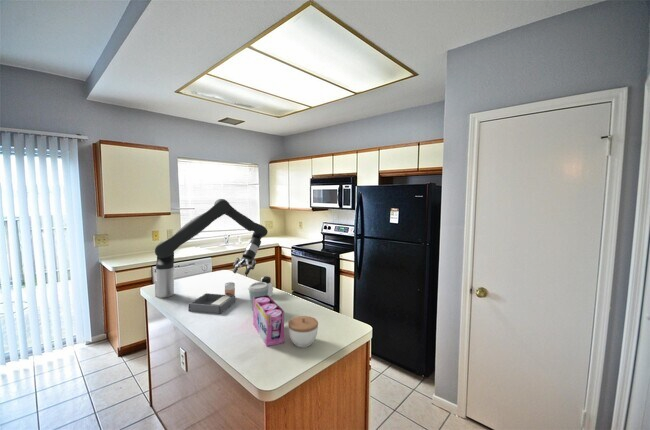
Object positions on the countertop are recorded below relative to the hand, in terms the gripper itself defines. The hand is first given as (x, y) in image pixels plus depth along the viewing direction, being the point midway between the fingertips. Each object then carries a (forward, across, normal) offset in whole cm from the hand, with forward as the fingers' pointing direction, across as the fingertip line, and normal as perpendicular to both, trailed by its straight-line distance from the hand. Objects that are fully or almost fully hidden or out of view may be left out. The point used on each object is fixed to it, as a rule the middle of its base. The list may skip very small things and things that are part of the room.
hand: (239, 273), depth 172 cm
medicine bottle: (+7, +16, +13) cm, 21 cm away
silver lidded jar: (+16, 0, +3) cm, 17 cm away
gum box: (+35, +41, -16) cm, 56 cm away
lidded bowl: (+36, +60, -17) cm, 72 cm away
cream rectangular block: (+24, +4, -7) cm, 26 cm away
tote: (+26, -1, -7) cm, 27 cm away
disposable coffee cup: (+22, +25, -3) cm, 33 cm away
